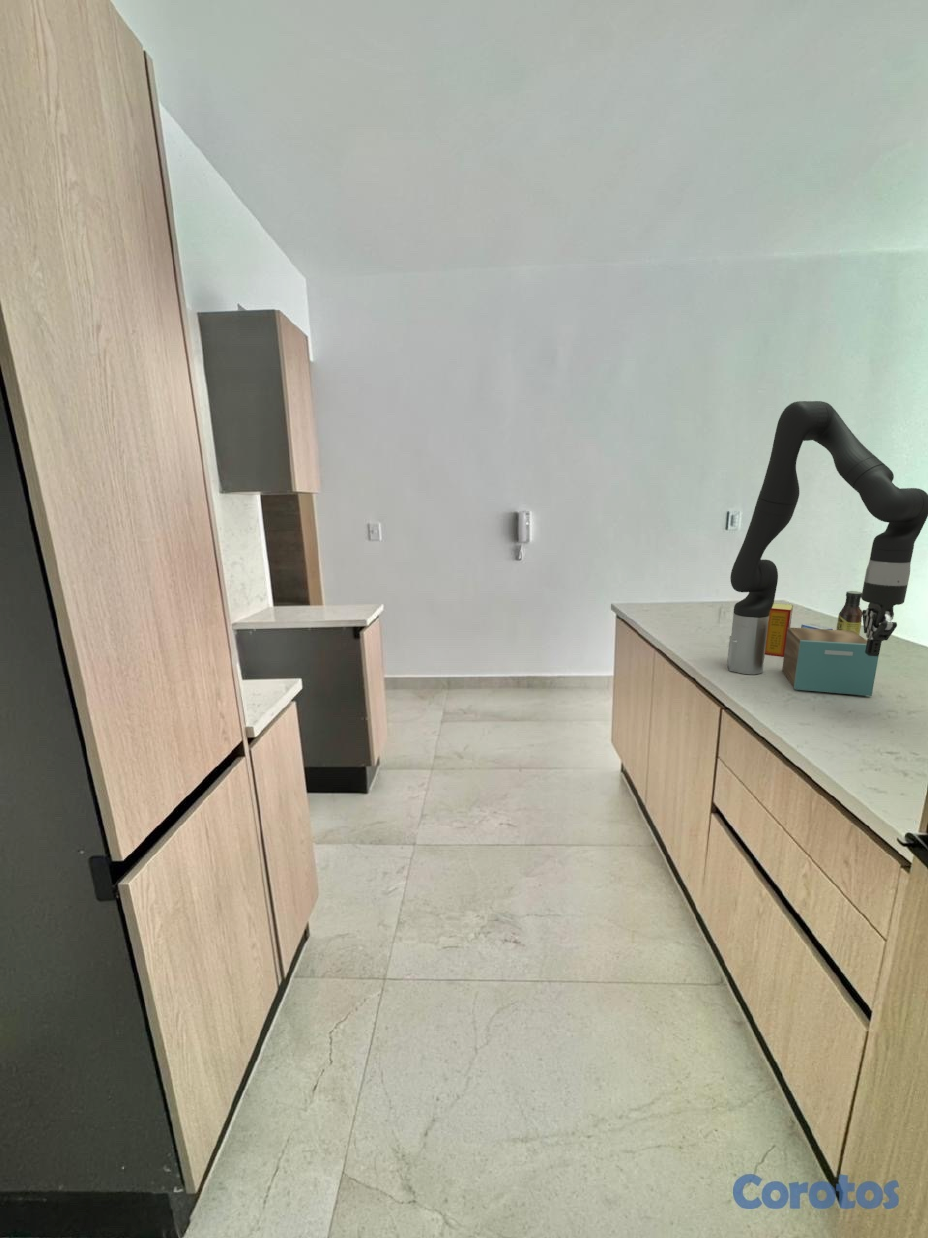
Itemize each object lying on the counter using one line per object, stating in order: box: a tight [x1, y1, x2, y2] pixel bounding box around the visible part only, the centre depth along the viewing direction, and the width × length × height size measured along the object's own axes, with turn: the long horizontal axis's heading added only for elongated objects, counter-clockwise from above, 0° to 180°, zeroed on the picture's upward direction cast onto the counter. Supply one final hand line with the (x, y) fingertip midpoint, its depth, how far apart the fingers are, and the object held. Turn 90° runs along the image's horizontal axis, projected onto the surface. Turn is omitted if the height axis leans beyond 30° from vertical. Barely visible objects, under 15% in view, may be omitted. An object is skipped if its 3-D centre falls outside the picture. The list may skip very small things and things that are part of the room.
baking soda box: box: [765, 602, 794, 658], centre depth 166 cm, size 10×6×16 cm
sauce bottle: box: [835, 590, 863, 635], centre depth 166 cm, size 7×6×20 cm
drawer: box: [793, 640, 880, 697], centre depth 137 cm, size 17×15×13 cm
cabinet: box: [781, 627, 867, 688], centre depth 139 cm, size 16×15×14 cm
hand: (871, 655), depth 116 cm, fingers closed
